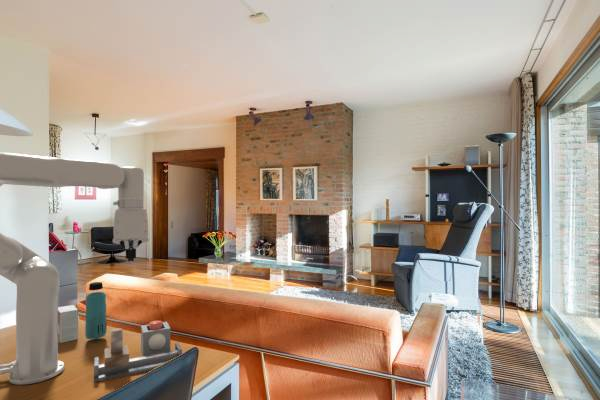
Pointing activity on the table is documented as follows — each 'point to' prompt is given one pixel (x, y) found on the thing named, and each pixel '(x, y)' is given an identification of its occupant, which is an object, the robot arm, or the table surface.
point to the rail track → (135, 365)
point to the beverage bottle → (95, 312)
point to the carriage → (116, 351)
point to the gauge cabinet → (155, 340)
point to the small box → (67, 323)
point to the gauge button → (155, 325)
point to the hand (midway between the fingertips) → (130, 260)
